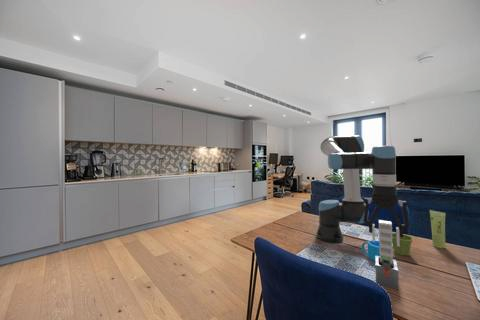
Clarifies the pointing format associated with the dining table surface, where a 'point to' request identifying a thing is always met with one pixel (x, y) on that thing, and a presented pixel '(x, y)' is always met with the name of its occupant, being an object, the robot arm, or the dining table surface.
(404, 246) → the plant pot
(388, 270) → the stand
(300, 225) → the dining table surface
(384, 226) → the column
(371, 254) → the mug
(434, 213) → the tube
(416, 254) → the dining table surface
